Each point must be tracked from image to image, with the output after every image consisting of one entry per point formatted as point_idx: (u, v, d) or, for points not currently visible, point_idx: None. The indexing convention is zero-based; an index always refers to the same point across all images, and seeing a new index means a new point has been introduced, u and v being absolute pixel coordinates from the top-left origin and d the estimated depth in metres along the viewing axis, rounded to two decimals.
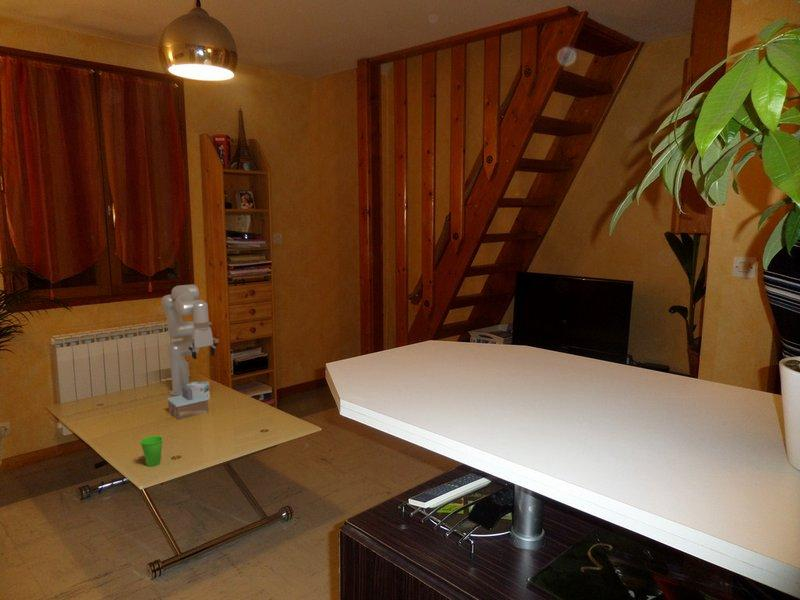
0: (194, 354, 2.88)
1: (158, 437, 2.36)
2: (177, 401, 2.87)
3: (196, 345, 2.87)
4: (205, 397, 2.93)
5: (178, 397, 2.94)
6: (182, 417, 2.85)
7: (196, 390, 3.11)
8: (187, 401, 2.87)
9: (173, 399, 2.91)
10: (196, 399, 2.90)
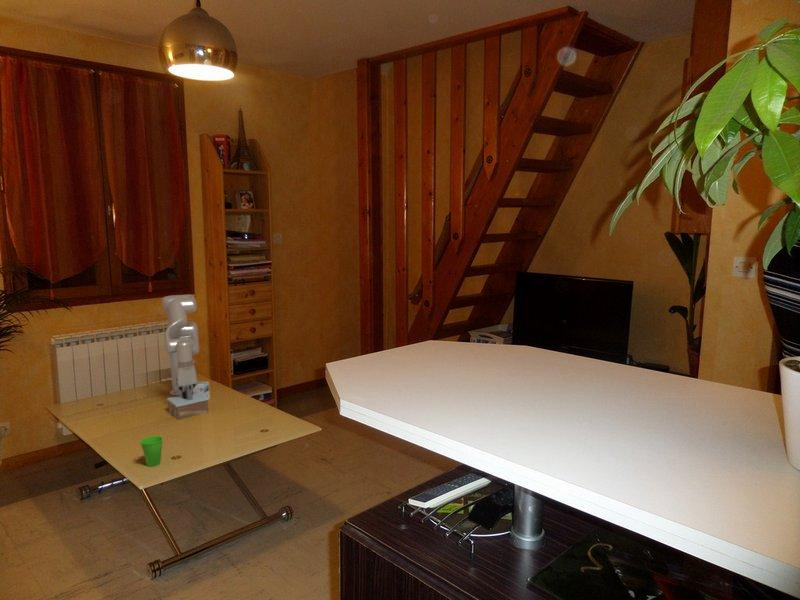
0: (184, 394, 2.90)
1: (158, 437, 2.36)
2: (177, 401, 2.87)
3: (179, 384, 2.87)
4: (205, 397, 2.93)
5: (178, 397, 2.94)
6: (182, 417, 2.85)
7: (196, 390, 3.11)
8: (187, 401, 2.87)
9: (173, 399, 2.91)
10: (196, 399, 2.90)
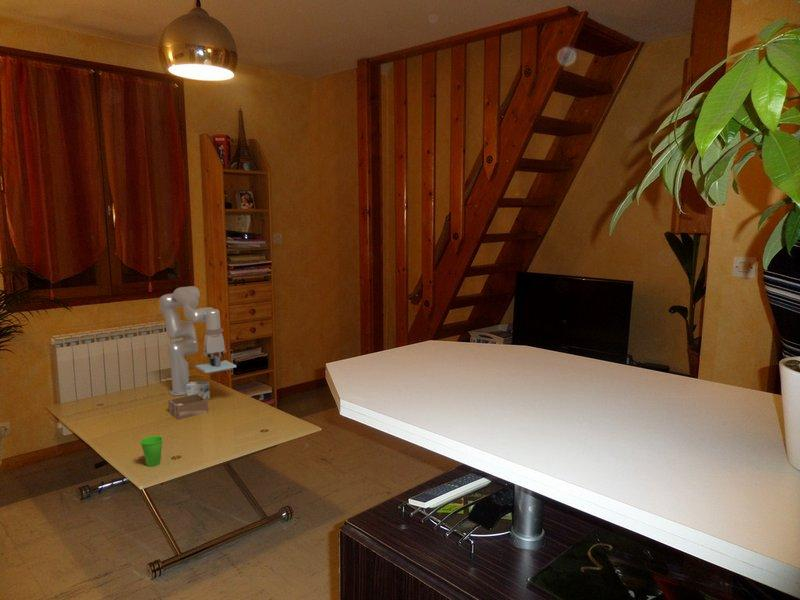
0: (212, 361, 2.99)
1: (158, 437, 2.36)
2: (205, 368, 2.96)
3: (208, 351, 2.96)
4: (232, 364, 3.02)
5: (206, 364, 3.03)
6: (182, 417, 2.85)
7: (196, 390, 3.11)
8: (215, 368, 2.96)
9: (202, 366, 3.00)
10: (224, 366, 2.99)
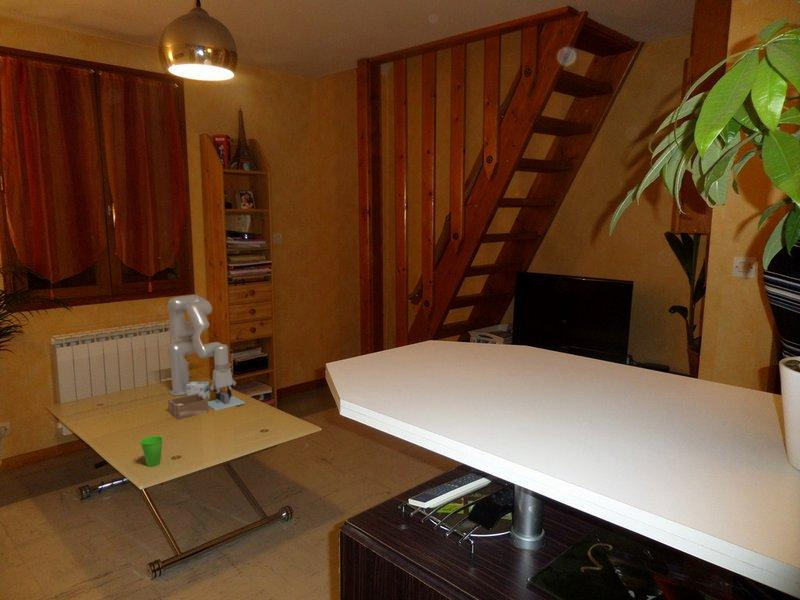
0: (218, 395, 3.03)
1: (158, 437, 2.36)
2: (214, 405, 3.01)
3: (217, 386, 3.01)
4: (240, 401, 3.08)
5: (215, 401, 3.08)
6: (182, 417, 2.85)
7: (196, 390, 3.11)
8: (224, 405, 3.02)
9: (210, 403, 3.06)
10: (232, 403, 3.04)
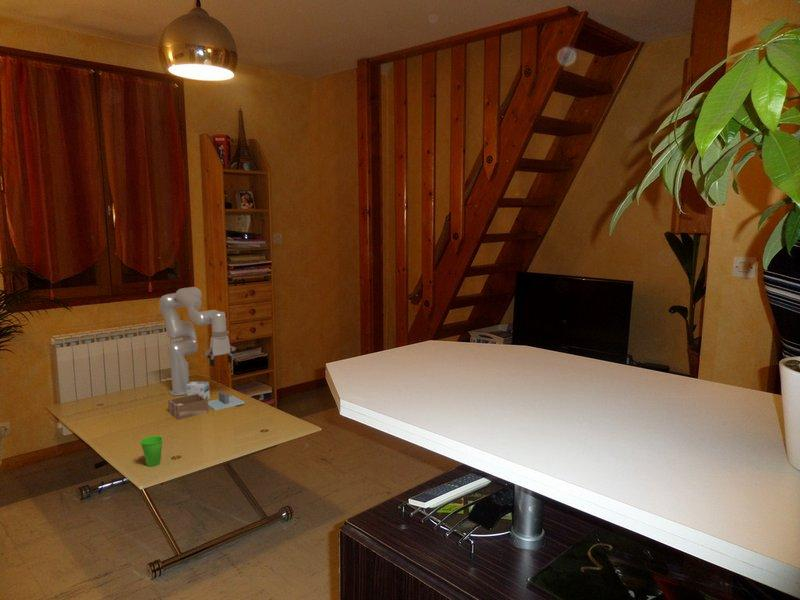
0: (212, 362, 3.00)
1: (158, 437, 2.36)
2: (214, 405, 3.01)
3: (214, 353, 2.99)
4: (240, 401, 3.08)
5: (215, 401, 3.08)
6: (182, 417, 2.85)
7: (196, 390, 3.11)
8: (224, 405, 3.02)
9: (210, 403, 3.06)
10: (232, 403, 3.04)
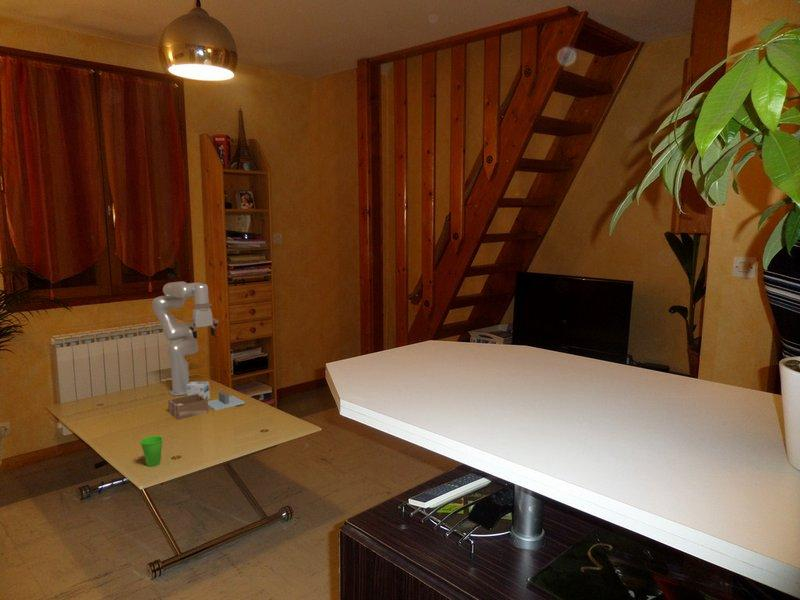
0: (195, 333, 3.01)
1: (158, 437, 2.36)
2: (214, 405, 3.01)
3: (197, 325, 3.01)
4: (241, 401, 3.08)
5: (215, 401, 3.08)
6: (182, 417, 2.85)
7: (196, 390, 3.11)
8: (224, 405, 3.02)
9: (210, 403, 3.06)
10: (232, 403, 3.04)
